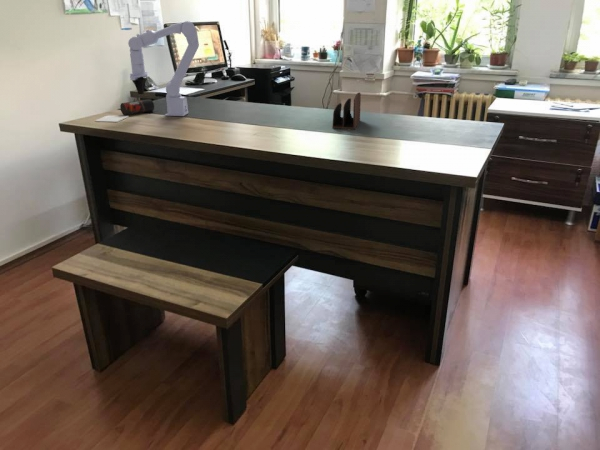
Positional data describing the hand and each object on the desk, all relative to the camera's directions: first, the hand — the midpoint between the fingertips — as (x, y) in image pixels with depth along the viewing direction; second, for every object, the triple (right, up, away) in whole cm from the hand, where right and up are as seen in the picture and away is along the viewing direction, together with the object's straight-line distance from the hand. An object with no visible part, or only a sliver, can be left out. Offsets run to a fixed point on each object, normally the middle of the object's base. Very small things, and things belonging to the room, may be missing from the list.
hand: (141, 93), depth 237 cm
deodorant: (-10, -7, +3) cm, 12 cm away
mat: (-13, -13, -3) cm, 18 cm away
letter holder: (+98, -17, -10) cm, 100 cm away
